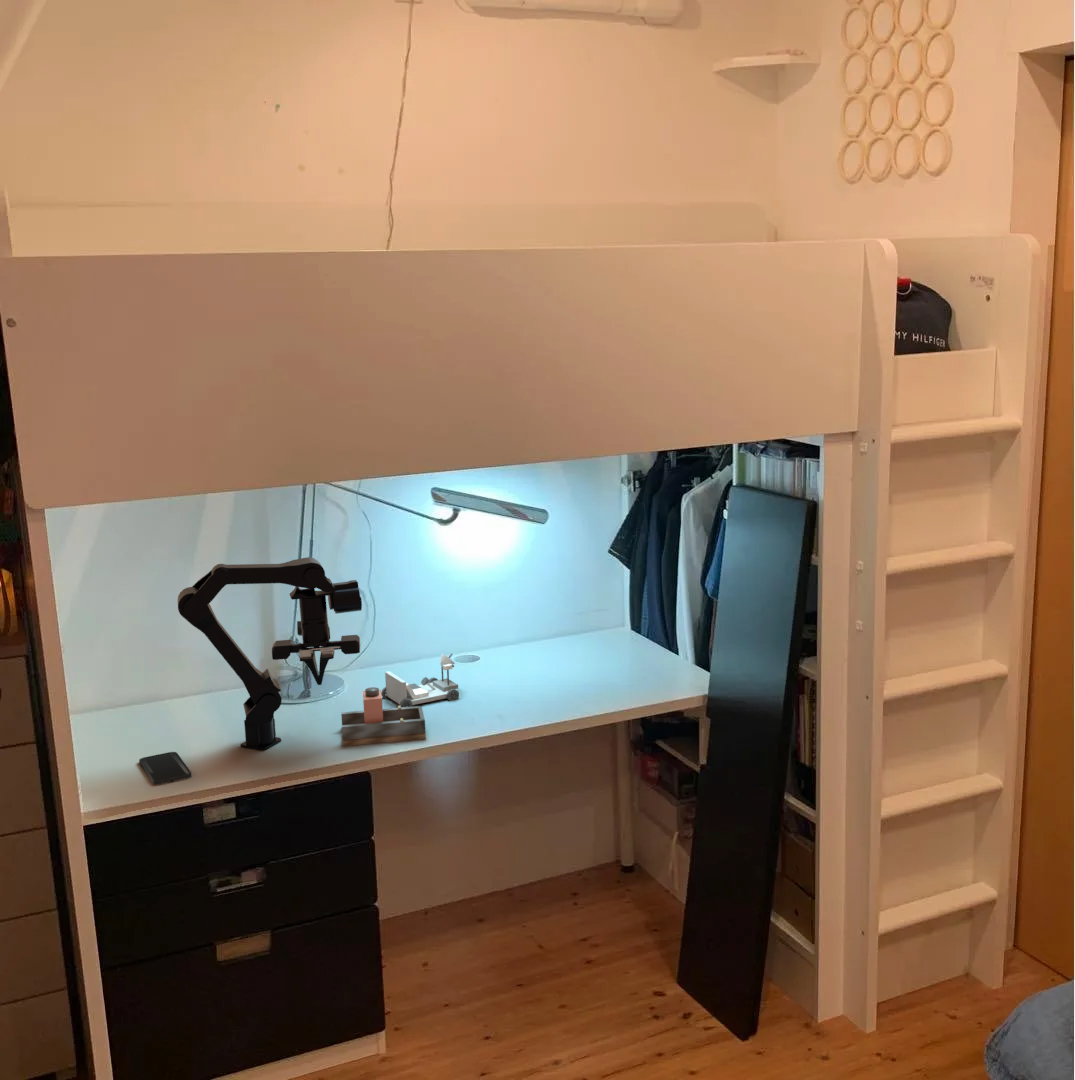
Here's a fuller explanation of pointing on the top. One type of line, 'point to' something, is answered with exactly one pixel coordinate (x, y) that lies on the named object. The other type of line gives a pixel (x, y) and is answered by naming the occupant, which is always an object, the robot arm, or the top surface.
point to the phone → (165, 768)
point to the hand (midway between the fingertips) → (319, 684)
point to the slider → (372, 705)
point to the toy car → (421, 687)
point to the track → (384, 726)
